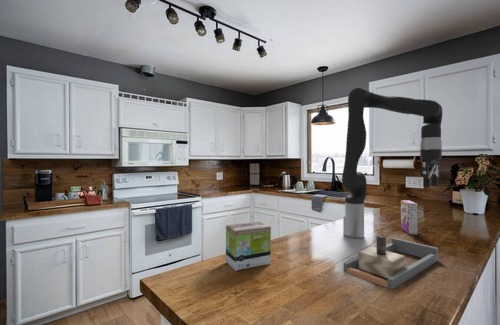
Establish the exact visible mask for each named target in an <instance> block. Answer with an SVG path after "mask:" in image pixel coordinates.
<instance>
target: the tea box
mask: <svg viewBox="0 0 500 325" xmlns="http://www.w3.org/2000/svg"><path fill="white" fill-rule="evenodd" d="M271 236H272V227H271V226H270V225H268V224H265V223H263V222H261V221H254V222H253V221H252V222H245V223H234V224H227V225H225V263H226V264H227V265H228V266H230V267H231V268H232V269H233V270H234V271H235V272H236V271H240V270H244V269H250V268H255V267H256V268H257V267H259V266H260V267H261V266H267V265H270V264H271V255H272V254H271V252H272V251H271V249H272V248H271V247H272V246H271V245H272V244H271V242H272V239H271V238H272V237H271Z"/></svg>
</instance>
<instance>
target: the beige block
mask: <svg viewBox="0 0 500 325" xmlns="http://www.w3.org/2000/svg"><path fill="white" fill-rule="evenodd" d="M386 245H387V237H386V236H383V235H377V236H376V247H375V246H370V247H367V248H365V249H362V250H359V251H358V256H359V267H358V269H361V270H362V271H365V272H368V273H372V274H374V275H376V276H380V277H381V278H385V279H387V278H389V277H390V276H392V275H394V274H396V273H397V272H399V271H401V270H403V269H405V268H406V256H405V255H403V254H399V253H396V252H394V251H393V252H389V251H386Z"/></svg>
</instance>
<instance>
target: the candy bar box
mask: <svg viewBox="0 0 500 325" xmlns="http://www.w3.org/2000/svg"><path fill="white" fill-rule="evenodd" d="M418 207H419V204H418V203H416V202H414V201H411V200H407V199H406V200H405V199H403V200H401V199H400V230H403V231H404V232H405V233H406V234H407V235H415V236H417V235H419V208H418Z"/></svg>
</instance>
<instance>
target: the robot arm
mask: <svg viewBox="0 0 500 325" xmlns="http://www.w3.org/2000/svg"><path fill="white" fill-rule="evenodd" d="M347 103H348V104H347V108H348V110H347V111H348V116H347V117H348V120H347V130H346V131H347V132H346V142H345V144H346V146H345V156H344V157H345V158H344V165H343V170H342V175H341V184H342V186H343V188H344V189H345V190H347V191H349V193H348V194H347V195H346V196H345V198H344V216H343V217H342V218H343V220H342V221H343V226H342V227H343V229H342V230H343V233H342V234H343V235H344V236H346V237H348V238H352V239H361V238H364V237H365V199H366V197H367V178H366V175H365V173H363V172H361V171H358V166H359V161H360V159H361V157H362V155H363V153H364V151H365V149H366V144H367V143H366V142H367V129H366V125H365V120H364V111H365V108H368V109H369V108H372V109H373V108H374V109H381V110H387V111H389V112H395V113H400V114H403V115H415V116H418V117H419V116H420V117H422V118H423V121H422V122H423V123H422V126H421V129H420V148H419V152H420V153H419V157H420V158H419V159H420V160H421V161H422V160H423V162H420V177H421V178H422V180H423V182H422V183H423V188H431V187H437V186H438V185H439V184H438V183H439V182H438V181H439V176H441V161H440V160H442V159H443V156H442V154H443V152H442V150H443V149H442V148H443V146H442V144H443V143H442V142H443V141H442V127H441V125H442V119H443V107H442V104H440V103H439V102H438V101H436V100H431V99H419V98H412V97H405V96H397V95H383V94H382V95H381V94H378V93H374V92H371V91H368V90H367V89H365V88H362V87H355V88H353V89H352V90H351V91H350V92H349V94H348V97H347ZM437 160H438V161H437Z"/></svg>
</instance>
